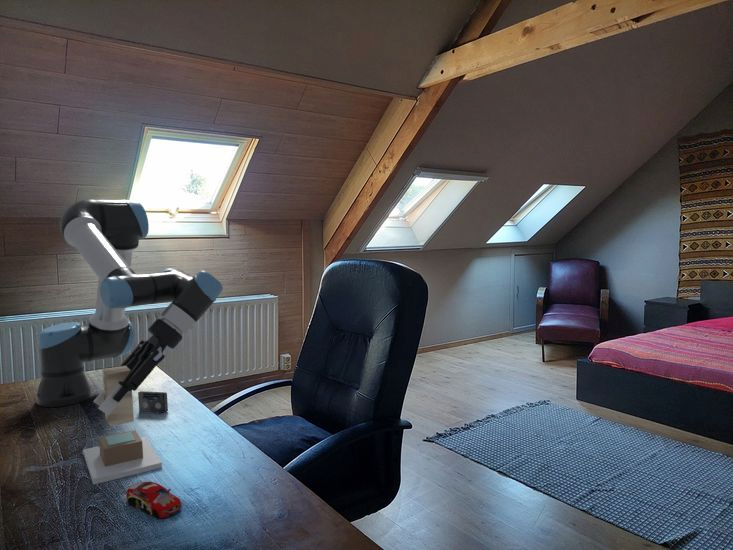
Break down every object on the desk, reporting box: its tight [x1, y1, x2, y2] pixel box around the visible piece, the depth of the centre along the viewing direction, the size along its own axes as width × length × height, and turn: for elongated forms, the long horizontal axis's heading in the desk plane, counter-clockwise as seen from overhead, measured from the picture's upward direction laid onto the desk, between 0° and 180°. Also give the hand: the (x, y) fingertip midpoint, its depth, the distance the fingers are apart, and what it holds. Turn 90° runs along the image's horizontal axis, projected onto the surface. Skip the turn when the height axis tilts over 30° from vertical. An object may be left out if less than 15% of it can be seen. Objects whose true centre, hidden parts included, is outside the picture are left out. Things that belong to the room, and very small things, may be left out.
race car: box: [126, 481, 182, 520], centre depth 107 cm, size 13×5×4 cm, turn 53°
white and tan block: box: [82, 429, 163, 485], centre depth 127 cm, size 18×14×5 cm
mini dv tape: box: [137, 390, 169, 414], centre depth 159 cm, size 8×2×6 cm, turn 80°
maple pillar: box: [101, 365, 135, 427], centre depth 125 cm, size 5×5×12 cm
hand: (101, 408), depth 123 cm, fingers closed on maple pillar, 5 cm apart
